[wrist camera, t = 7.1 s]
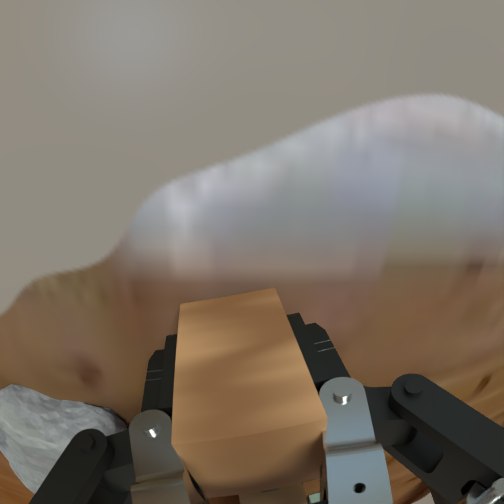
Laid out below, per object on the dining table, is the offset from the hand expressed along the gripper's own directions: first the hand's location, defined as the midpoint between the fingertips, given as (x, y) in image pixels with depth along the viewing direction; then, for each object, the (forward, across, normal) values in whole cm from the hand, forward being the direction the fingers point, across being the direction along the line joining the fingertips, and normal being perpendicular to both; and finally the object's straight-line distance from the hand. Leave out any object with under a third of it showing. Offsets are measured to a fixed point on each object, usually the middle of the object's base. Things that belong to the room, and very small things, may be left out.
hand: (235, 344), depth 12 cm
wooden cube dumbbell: (+1, 0, +9) cm, 9 cm away
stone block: (+2, +13, +8) cm, 16 cm away
